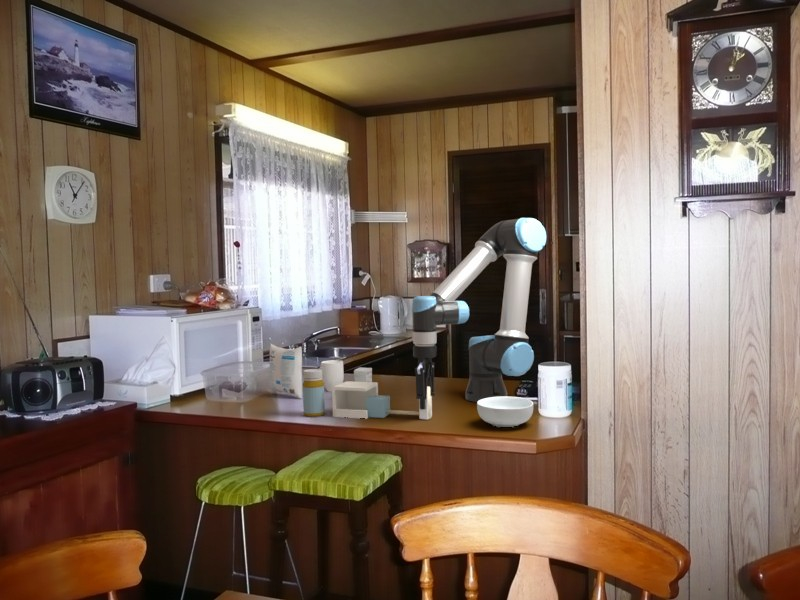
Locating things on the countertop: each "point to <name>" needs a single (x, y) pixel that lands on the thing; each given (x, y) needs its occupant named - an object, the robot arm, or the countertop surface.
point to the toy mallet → (381, 406)
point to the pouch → (286, 370)
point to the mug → (332, 373)
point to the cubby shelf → (352, 398)
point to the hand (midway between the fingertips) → (425, 417)
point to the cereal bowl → (505, 410)
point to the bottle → (313, 393)
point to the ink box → (363, 375)
